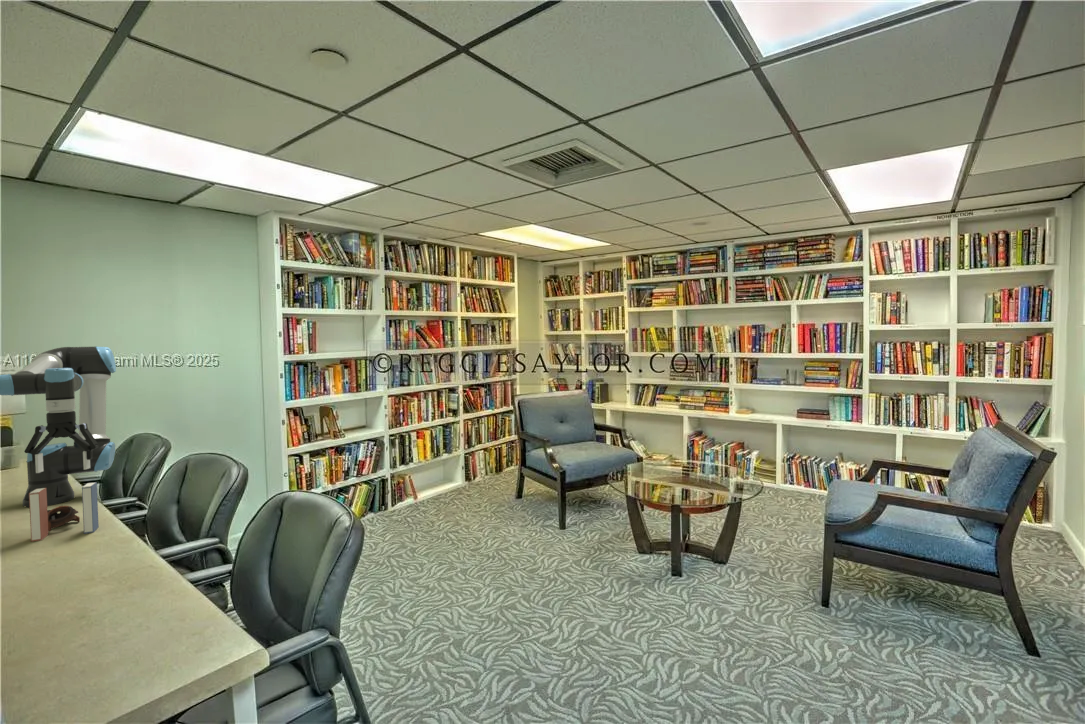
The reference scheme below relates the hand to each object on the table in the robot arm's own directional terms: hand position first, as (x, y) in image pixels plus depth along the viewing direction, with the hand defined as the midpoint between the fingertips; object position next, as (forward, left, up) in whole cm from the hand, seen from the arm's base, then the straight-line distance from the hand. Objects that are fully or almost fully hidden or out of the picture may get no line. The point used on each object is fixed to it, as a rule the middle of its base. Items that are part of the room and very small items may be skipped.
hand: (63, 470), depth 179 cm
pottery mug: (0, -1, -21) cm, 21 cm away
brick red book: (+12, -3, -20) cm, 23 cm away
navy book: (+12, +10, -20) cm, 25 cm away
